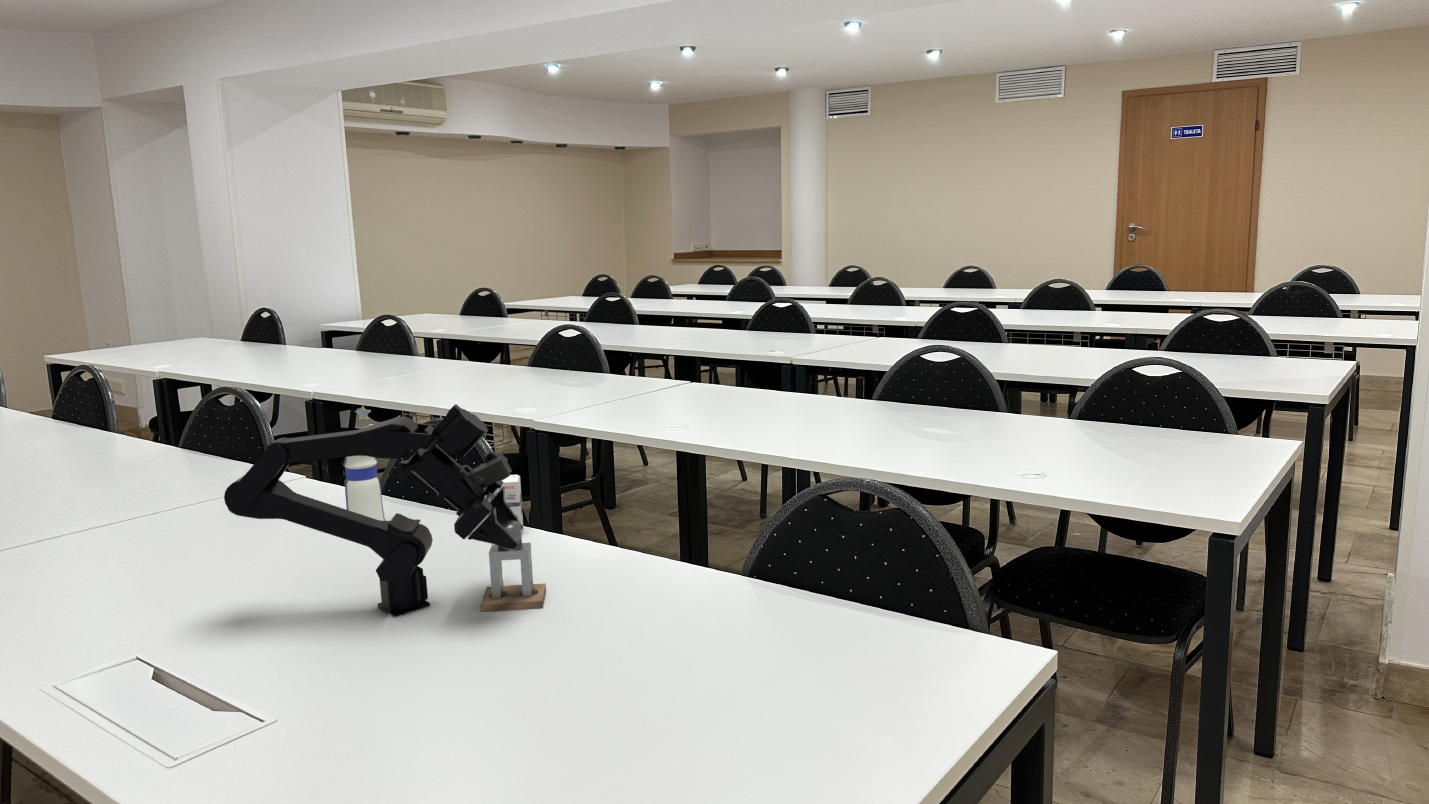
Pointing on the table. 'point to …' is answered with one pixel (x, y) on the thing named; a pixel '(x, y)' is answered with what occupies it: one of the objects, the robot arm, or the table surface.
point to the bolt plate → (513, 598)
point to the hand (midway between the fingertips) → (518, 538)
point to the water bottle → (363, 483)
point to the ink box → (513, 495)
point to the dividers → (504, 553)
